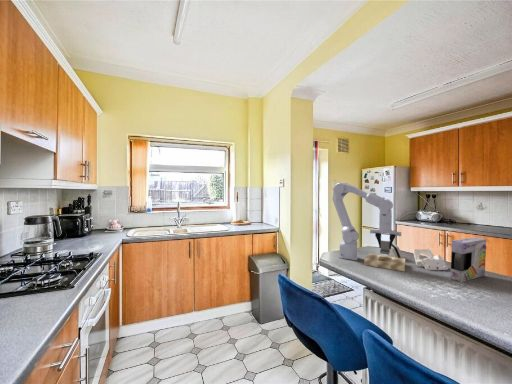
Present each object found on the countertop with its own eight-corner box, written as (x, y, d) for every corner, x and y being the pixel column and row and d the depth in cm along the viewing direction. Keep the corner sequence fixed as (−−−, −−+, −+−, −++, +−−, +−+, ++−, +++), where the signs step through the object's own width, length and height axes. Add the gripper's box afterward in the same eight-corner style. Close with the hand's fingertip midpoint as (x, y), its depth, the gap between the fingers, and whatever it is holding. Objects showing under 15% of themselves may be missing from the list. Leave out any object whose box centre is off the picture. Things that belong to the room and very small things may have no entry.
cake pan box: (460, 283, 104) (461, 242, 103) (447, 278, 108) (448, 239, 108) (486, 277, 111) (487, 238, 111) (473, 273, 116) (474, 236, 115)
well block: (364, 264, 128) (364, 259, 128) (368, 258, 139) (368, 253, 138) (404, 271, 118) (404, 265, 118) (405, 264, 129) (405, 258, 129)
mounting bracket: (441, 270, 125) (435, 249, 129) (450, 269, 119) (443, 247, 123) (417, 270, 125) (412, 249, 129) (425, 269, 119) (419, 247, 123)
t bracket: (380, 253, 126) (380, 241, 126) (381, 250, 132) (381, 239, 132) (388, 254, 124) (388, 242, 124) (389, 251, 129) (390, 240, 129)
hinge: (406, 260, 136) (400, 243, 135) (398, 263, 136) (392, 246, 136) (390, 252, 152) (385, 237, 152) (383, 255, 152) (378, 240, 152)
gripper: (369, 222, 128) (369, 247, 129) (401, 224, 120) (400, 251, 121) (371, 220, 134) (370, 245, 135) (401, 223, 126) (401, 248, 127)
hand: (385, 248), depth 128 cm, fingers closed on t bracket, 4 cm apart
